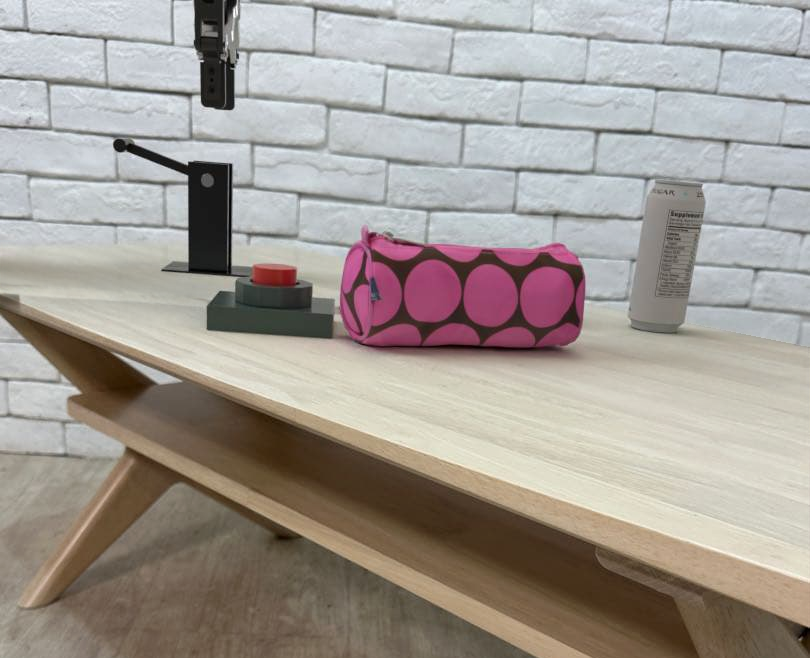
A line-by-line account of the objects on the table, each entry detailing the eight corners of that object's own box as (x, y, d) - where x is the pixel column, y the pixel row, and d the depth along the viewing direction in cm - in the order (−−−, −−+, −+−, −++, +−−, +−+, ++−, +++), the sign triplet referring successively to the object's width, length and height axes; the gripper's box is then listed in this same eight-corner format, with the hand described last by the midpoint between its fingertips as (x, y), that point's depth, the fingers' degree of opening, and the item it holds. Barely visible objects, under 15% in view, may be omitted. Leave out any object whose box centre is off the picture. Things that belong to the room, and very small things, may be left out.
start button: (250, 287, 88) (250, 267, 88) (254, 281, 92) (254, 262, 92) (295, 291, 89) (296, 270, 88) (297, 284, 92) (298, 265, 92)
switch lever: (110, 154, 109) (115, 131, 108) (120, 153, 114) (125, 132, 113) (216, 195, 111) (223, 174, 110) (222, 193, 116) (228, 172, 115)
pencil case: (365, 358, 82) (373, 231, 78) (331, 334, 90) (337, 219, 86) (591, 358, 89) (608, 242, 85) (540, 336, 98) (554, 230, 94)
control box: (206, 330, 87) (206, 284, 86) (219, 313, 96) (219, 271, 94) (332, 339, 88) (334, 293, 87) (334, 321, 96) (336, 279, 95)
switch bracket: (161, 280, 113) (159, 159, 108) (173, 271, 120) (172, 158, 115) (250, 286, 114) (252, 167, 109) (256, 277, 121) (258, 165, 116)
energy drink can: (660, 323, 112) (684, 181, 106) (694, 333, 106) (721, 185, 101) (615, 322, 109) (637, 178, 104) (647, 333, 104) (672, 182, 99)
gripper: (185, -77, 95) (188, 108, 101) (160, -112, 82) (166, 104, 88) (264, -71, 95) (263, 113, 101) (252, -104, 82) (252, 109, 88)
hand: (218, 108), depth 95 cm, fingers open, 8 cm apart
